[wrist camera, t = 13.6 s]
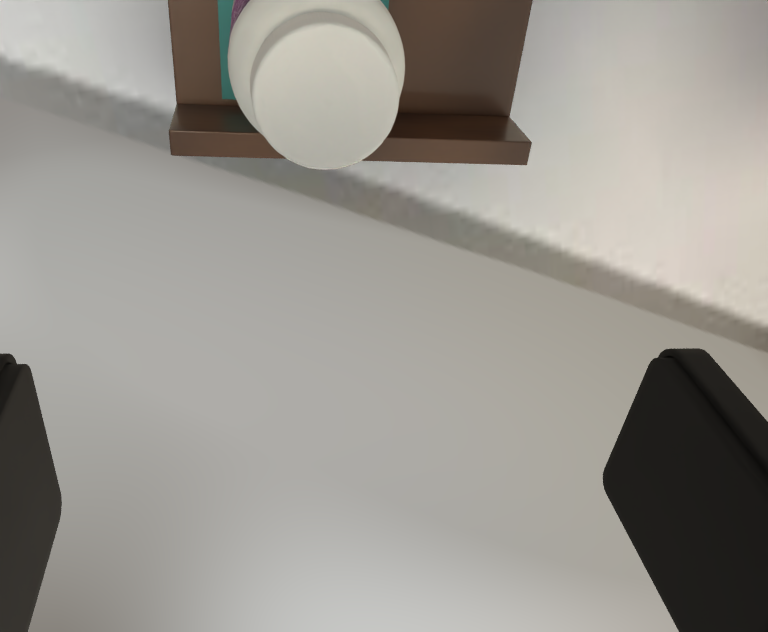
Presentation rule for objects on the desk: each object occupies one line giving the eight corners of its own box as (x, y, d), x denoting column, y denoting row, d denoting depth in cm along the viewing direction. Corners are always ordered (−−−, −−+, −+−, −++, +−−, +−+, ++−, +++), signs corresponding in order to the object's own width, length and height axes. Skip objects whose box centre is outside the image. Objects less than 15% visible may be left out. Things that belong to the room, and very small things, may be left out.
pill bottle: (214, 58, 26) (195, 155, 18) (259, -89, 23) (260, -47, 16) (342, 110, 28) (375, 218, 20) (397, -20, 25) (459, 46, 18)
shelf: (511, -108, 29) (584, -90, 22) (476, 102, 34) (527, 165, 28) (171, -142, 26) (143, -133, 20) (188, 90, 32) (170, 156, 25)
